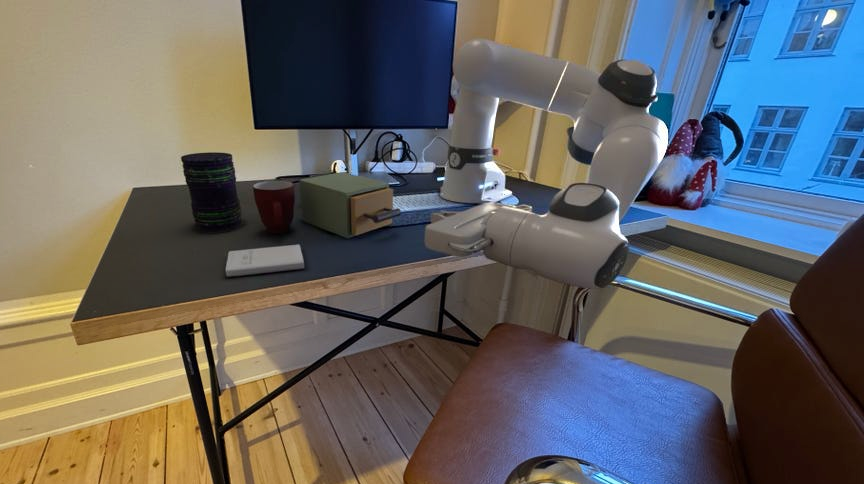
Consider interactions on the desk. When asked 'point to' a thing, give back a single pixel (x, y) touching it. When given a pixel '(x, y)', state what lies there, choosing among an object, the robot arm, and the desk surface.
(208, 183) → the storage jar
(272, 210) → the mug
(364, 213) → the drawer
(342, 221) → the cabinet
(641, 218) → the desk surface
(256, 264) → the hard drive
